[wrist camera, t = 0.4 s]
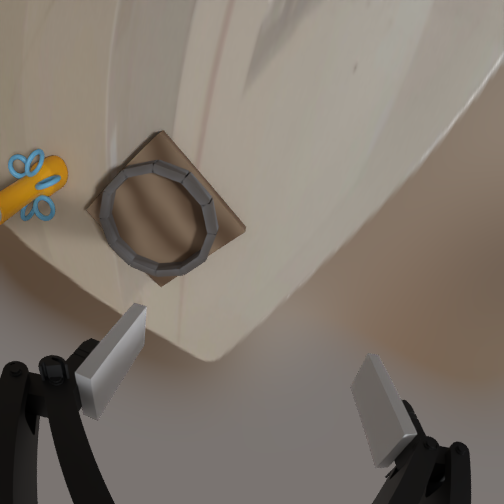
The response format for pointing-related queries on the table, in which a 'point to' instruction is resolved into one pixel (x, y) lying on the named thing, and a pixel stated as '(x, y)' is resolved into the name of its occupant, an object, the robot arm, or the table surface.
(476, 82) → the table surface
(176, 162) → the hub board
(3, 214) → the cylinder
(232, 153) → the table surface
